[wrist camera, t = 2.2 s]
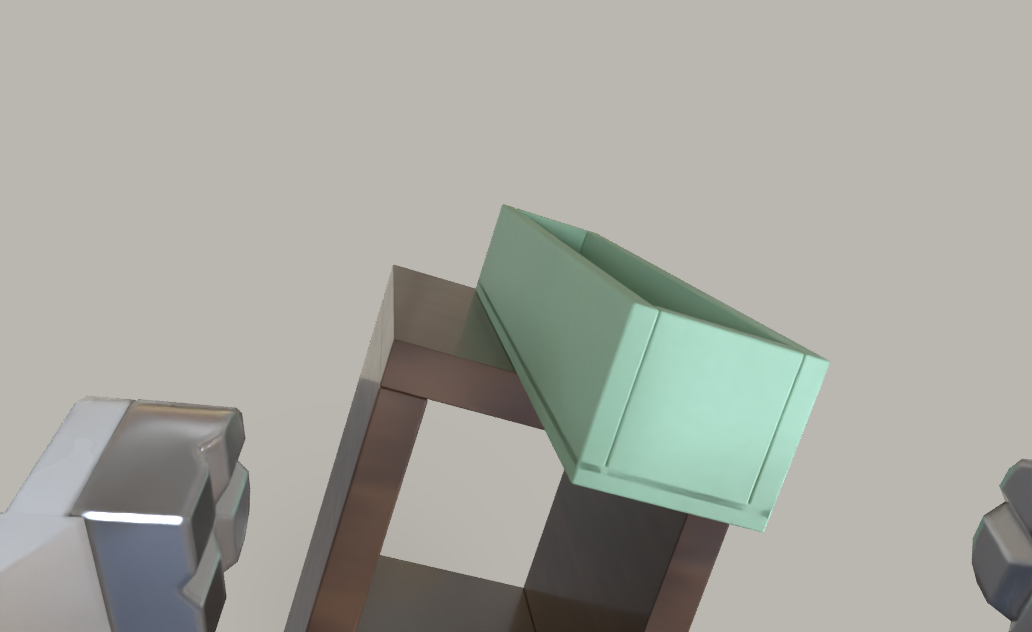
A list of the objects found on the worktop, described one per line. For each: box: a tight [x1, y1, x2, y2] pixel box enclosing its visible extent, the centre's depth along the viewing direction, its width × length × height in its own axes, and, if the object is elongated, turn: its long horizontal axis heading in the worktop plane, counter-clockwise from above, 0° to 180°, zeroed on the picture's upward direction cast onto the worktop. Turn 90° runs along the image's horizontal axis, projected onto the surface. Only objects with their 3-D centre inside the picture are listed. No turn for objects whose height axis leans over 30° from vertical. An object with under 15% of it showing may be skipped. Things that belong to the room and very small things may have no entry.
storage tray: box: [476, 205, 829, 532], centre depth 29 cm, size 4×22×4 cm, turn 8°
